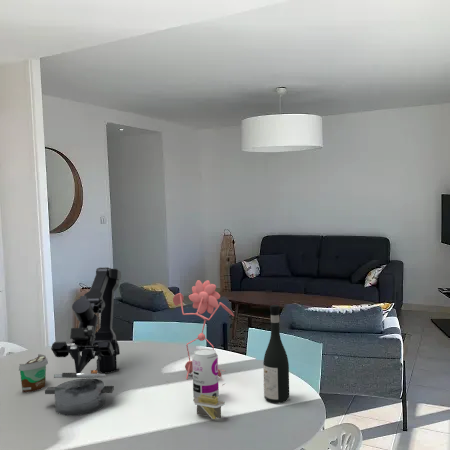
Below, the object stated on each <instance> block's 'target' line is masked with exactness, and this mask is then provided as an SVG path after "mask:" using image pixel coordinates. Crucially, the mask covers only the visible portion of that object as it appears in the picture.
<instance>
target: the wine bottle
mask: <svg viewBox="0 0 450 450" xmlns="http://www.w3.org/2000/svg"><path fill="white" fill-rule="evenodd" d="M280 307H281V306H280V305H279V304H271V305H270V306H269V311H270V338H269V342H268V344H267V346H266V347H267V348H266V350H265V353H264V356H263V363H262V364H263V368H262V369H263V396H264V399H265V401H267V402H269V403H274V404H281V403H282V404H283V403H284V402H287V401H288V400H289V399H290V364H289V358H288V355H287V351H286V349H285V347H284V344H283V342H282V339H281V334H280V332H281V331H280Z"/></svg>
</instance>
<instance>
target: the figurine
mask: <svg viewBox="0 0 450 450" xmlns="http://www.w3.org/2000/svg"><path fill="white" fill-rule="evenodd" d="M216 289H217V285H216V284H214V283H211V282H210V280H208V279H207V280H204V282H202V281H201V280H199V279H198V280H196V282H195V285H193V286H192V287H191V290H192V293H191V294H189V295H188V298H189V300H190V302H192V308H193V309H197V310H196V312H195V313H194V312H189V313H188V312H187V313H185V311H184V307H183V301H184V299H185V298H184V294H182V293H181V292H179V293H176V294H174V296H173V298H172V302H173V304H174V305H175V306H178V305H180V307H181V314H182V316H190V315H195V316H196V317H197V316H198V317H200V318H201V319H203V325H202V329H201V332H200V333H199V334H198V335H197V338H195V339H193V340H191V341H190V342H188V343H186V345H185V346H186V351H187V355H188V361H186V362H185V365H184V369H185V371H186V377H185V379H186V380H188V379H189V374H193V365H192V360H191V357H190V351H189V347H188V345H189V344H191V343H192V342H195V341H197V340H199V341H200V342H202V341H203V342H204V340H205V341H207V343H208V344H210V347H211V346H212V349H213V350H215V346H214V344H212V343H211V342H210V341H209V340H208V339H207V338H206V335H205V334H204V329H205V326H206V323H207V321H210V320H211V319H212V318H213V316H214V315H215V314H216V312H217V311H218V309H219V308H220V306H221V307H222V309H223V310H225V311H226V312H227V313H229V314H230V315H231V316H232V317H235V314H234V312H233V311H232V310H231V309H230V308H229V307H227V305H225V304H224V303H223V302H221V301H220V302H219V301H218V300H219V299H220V298H221V294H220V293H219V292H218V291H216ZM206 311H207V313H208V314H210V317H206V316H204V315H203V314H205V312H206ZM222 371H223V372H227V371H226V370H223V369H222ZM218 378H220V379H221V378H222V372H221V369H219V368H218ZM224 385H225V383H224V384H222V386H224Z"/></svg>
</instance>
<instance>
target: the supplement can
mask: <svg viewBox="0 0 450 450" xmlns="http://www.w3.org/2000/svg"><path fill="white" fill-rule="evenodd" d="M191 359H192V360H191V361H192V365H193V372H192V393H193V399H194V398H195V397H200V398H202V396H201V395H204V398H205V397H206V396H205V395H207V396H208V398H209V396H214V397H215V399H216V397H218V398H219V396H220V395H219V394H220V391H219V389H220V388H219V376H218V369H219V357H218V354H217V352H216V349H214V350H213V348H212V349H211V348H201V349H197V350H195V351H193V355H192V356H191ZM211 399H213V397H211Z"/></svg>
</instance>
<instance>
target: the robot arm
mask: <svg viewBox="0 0 450 450" xmlns="http://www.w3.org/2000/svg"><path fill="white" fill-rule="evenodd" d="M121 273H122V272H121V271H120V270H119V269H118V268H111V267H106V266H105V267H98V268H96V270H95V276H94V278H93V281H92V285H91V287H90V288H89V289H90V290H89V291H88V292H85V294H84V295H81V296H80V297H79V298H78V299H76V300H75V301H74V302H72V303H73V304H72V305H71V310H72V311H73V313H74V315H75V318H76V319H77V321H79V322H78V327H71V328H70V336H69V338H70V339H72V341H71V342H72V344H69V345H68V343H67V342H66V341H54V342H53V343H52V345H51V351H52V352H53V354H54V357H55V358H66V357H68V356H69V355H70V357H71V358H72V360H74V361H73V362H74V367H75V373H77V374H82V372H83V370H84V369H85V367H86V366H87V365H88V364H89V363H90V362H91V360H93V359H95V358H96V357H97V359H96V369H95V370H97V372H99V374H105V375H106V374H110V373H113V372H118V371H119V370H120V369H119V368H118V366H117V356H119V355H120V352H121V351H120V345H119V343H118V340H117V335H116V333H115V331H114V330H113V321H114V320H113V319H114V304H115V303H114V302H115V292H116V290H117V288H118V287H119V285H120V281H121V279H122V278H121V277H122V275H121ZM97 314H100V323H99V322H98V321H99V317H98V315H97ZM98 323H99V324H98ZM98 325H99V329H98V330H97V326H98ZM96 330H97V331H96Z"/></svg>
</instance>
